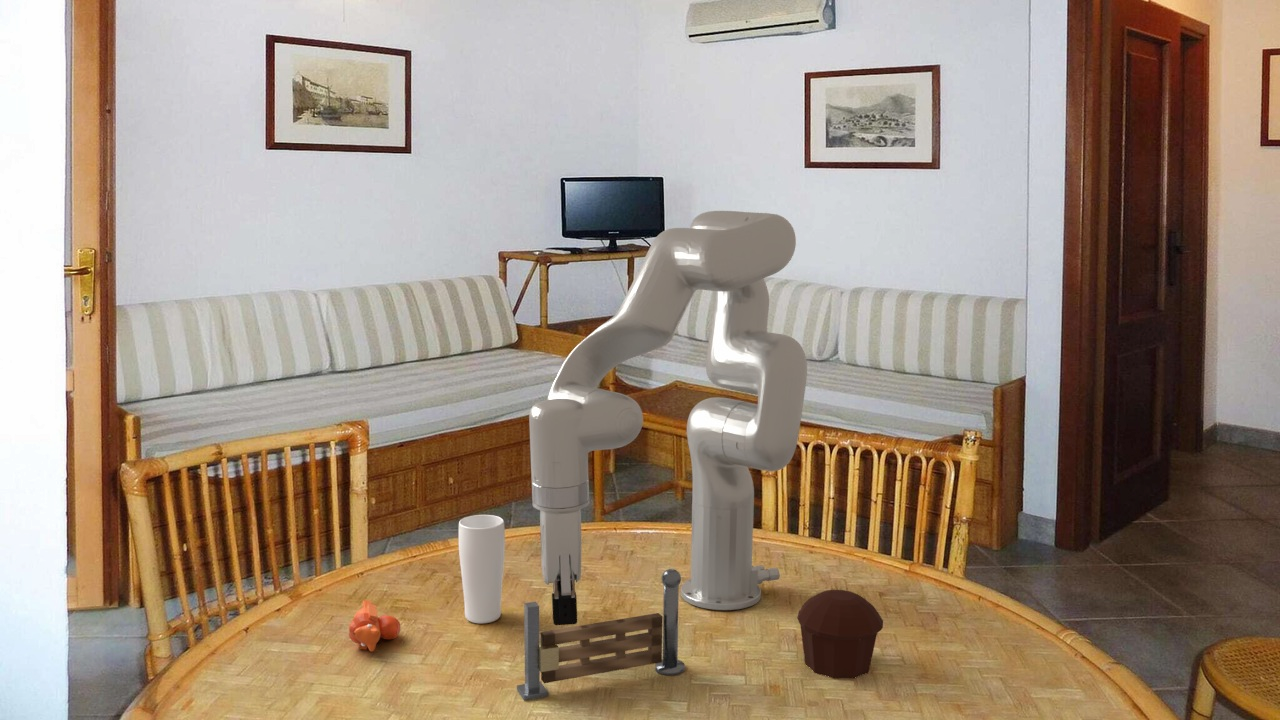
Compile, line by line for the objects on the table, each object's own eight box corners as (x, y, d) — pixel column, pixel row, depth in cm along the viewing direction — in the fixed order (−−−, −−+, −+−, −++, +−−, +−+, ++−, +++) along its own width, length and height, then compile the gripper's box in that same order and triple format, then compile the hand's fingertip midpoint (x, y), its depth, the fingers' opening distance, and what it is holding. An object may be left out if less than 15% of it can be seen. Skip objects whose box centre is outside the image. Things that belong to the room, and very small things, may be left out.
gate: (658, 658, 154) (658, 612, 153) (661, 662, 153) (662, 616, 152) (541, 679, 148) (540, 631, 147) (544, 683, 147) (543, 635, 146)
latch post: (550, 683, 150) (550, 596, 148) (558, 694, 147) (558, 606, 145) (516, 689, 148) (515, 601, 146) (524, 700, 145) (523, 611, 143)
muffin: (778, 659, 158) (780, 590, 156) (834, 640, 164) (837, 573, 163) (842, 691, 148) (845, 618, 147) (899, 669, 155) (902, 599, 153)
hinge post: (677, 660, 157) (678, 562, 155) (689, 672, 153) (691, 572, 151) (650, 665, 156) (651, 566, 153) (662, 677, 152) (663, 576, 149)
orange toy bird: (351, 588, 167) (355, 620, 155) (401, 599, 169) (409, 631, 158) (341, 621, 167) (344, 655, 156) (391, 631, 170) (398, 665, 158)
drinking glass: (497, 628, 167) (496, 530, 164) (453, 624, 168) (451, 526, 166) (511, 611, 174) (510, 515, 171) (469, 607, 175) (467, 512, 172)
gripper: (529, 477, 158) (534, 602, 162) (534, 513, 144) (539, 649, 148) (584, 474, 159) (587, 598, 163) (594, 509, 145) (598, 644, 149)
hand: (565, 622), depth 155 cm, fingers closed
